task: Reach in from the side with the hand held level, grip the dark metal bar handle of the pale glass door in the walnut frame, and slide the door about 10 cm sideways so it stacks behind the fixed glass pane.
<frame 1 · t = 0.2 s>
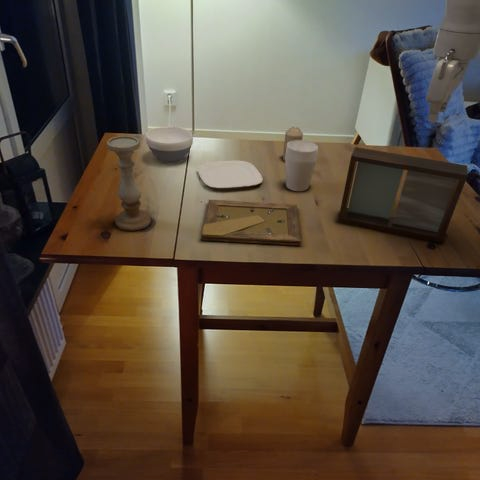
hand: (436, 116, 105), 27 cm above the table, tool pointing down, fingers open, 8 cm apart
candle: (291, 160, 151), on the table
plate: (229, 178, 138), on the table
frame: (389, 226, 120), on the table
candle holder: (133, 223, 116), on the table
bowl: (170, 159, 147), on the table
cup: (297, 187, 136), on the table
door: (375, 186, 117), point 9 cm above the table, slide at 0.0 cm
picture frame: (251, 224, 118), on the table
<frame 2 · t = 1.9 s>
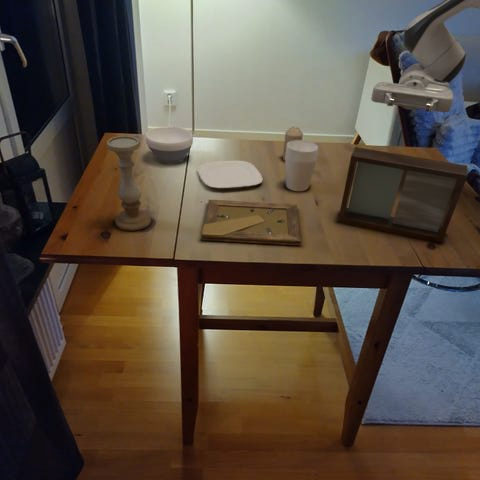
hand: (409, 105, 116), 25 cm above the table, tool horizontal, fingers open, 8 cm apart
nothing on the table moved.
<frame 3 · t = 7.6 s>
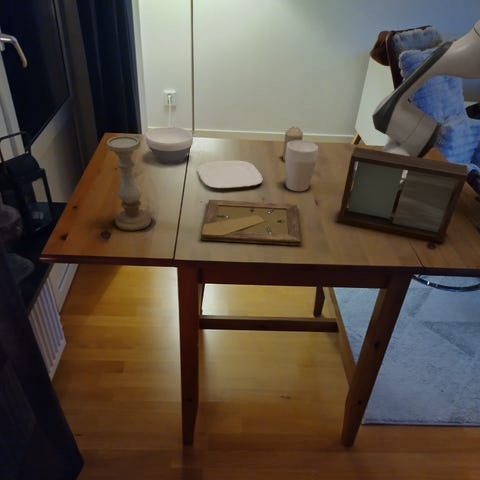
hand: (387, 188, 117), 9 cm above the table, tool horizontal, fingers closed on door, 2 cm apart
door: (375, 186, 117), point 9 cm above the table, slide at 0.0 cm, touching gripper
everything else where it was.
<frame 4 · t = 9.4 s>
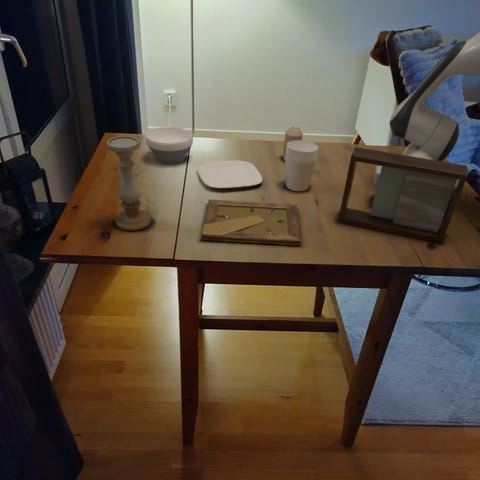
hand: (411, 193, 116), 9 cm above the table, tool horizontal, fingers closed on door, 2 cm apart
door: (399, 190, 116), point 9 cm above the table, slide at 5.8 cm, touching gripper
everything else where it was.
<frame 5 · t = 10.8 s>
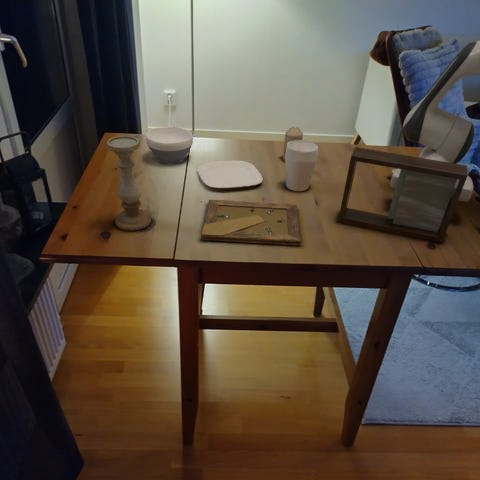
hand: (429, 196, 115), 8 cm above the table, tool horizontal, fingers closed on door, 2 cm apart
door: (417, 193, 115), point 9 cm above the table, slide at 10.3 cm, touching gripper
everything else where it was.
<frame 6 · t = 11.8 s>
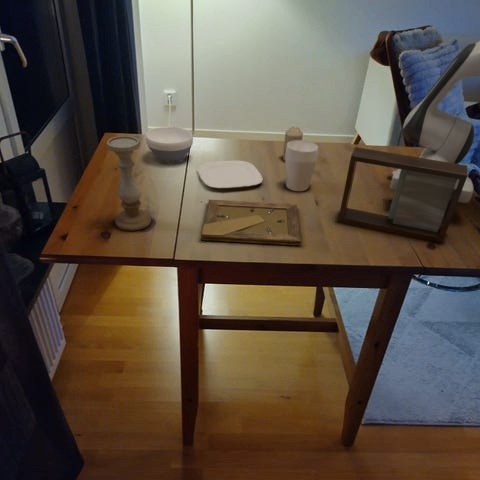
hand: (429, 198, 115), 8 cm above the table, tool horizontal, fingers open, 8 cm apart
door: (417, 193, 115), point 9 cm above the table, slide at 10.4 cm
everything else where it was.
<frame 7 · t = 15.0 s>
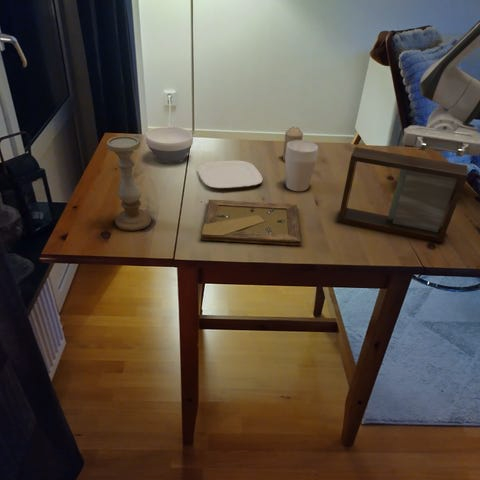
hand: (441, 150, 119), 16 cm above the table, tool horizontal, fingers open, 8 cm apart
nothing on the table moved.
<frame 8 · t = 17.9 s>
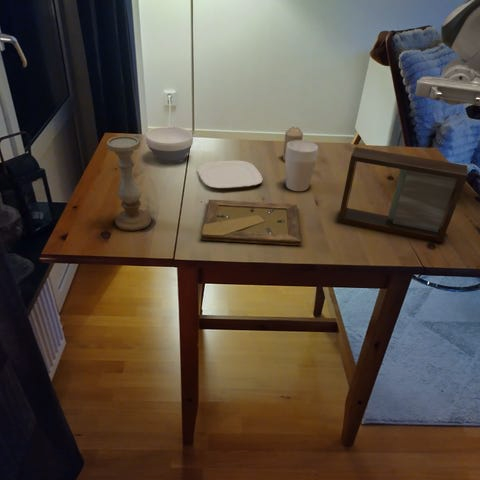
hand: (457, 99, 111), 28 cm above the table, tool horizontal, fingers open, 8 cm apart
nothing on the table moved.
at the end: door slide at 10.4 cm; the gripper is holding nothing; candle moved 0.2 cm from its start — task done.
